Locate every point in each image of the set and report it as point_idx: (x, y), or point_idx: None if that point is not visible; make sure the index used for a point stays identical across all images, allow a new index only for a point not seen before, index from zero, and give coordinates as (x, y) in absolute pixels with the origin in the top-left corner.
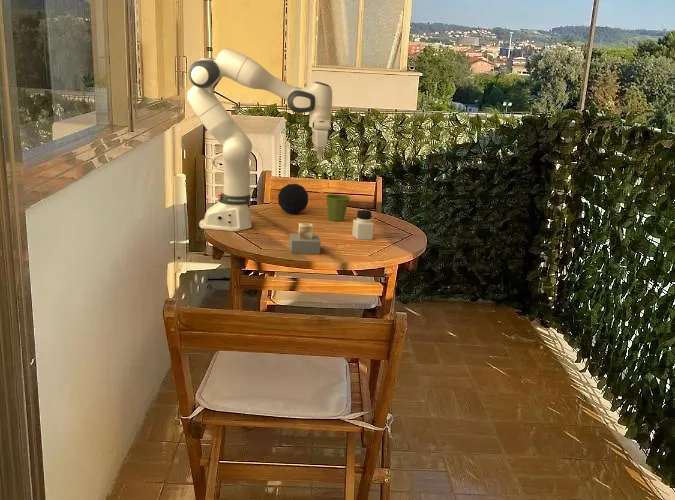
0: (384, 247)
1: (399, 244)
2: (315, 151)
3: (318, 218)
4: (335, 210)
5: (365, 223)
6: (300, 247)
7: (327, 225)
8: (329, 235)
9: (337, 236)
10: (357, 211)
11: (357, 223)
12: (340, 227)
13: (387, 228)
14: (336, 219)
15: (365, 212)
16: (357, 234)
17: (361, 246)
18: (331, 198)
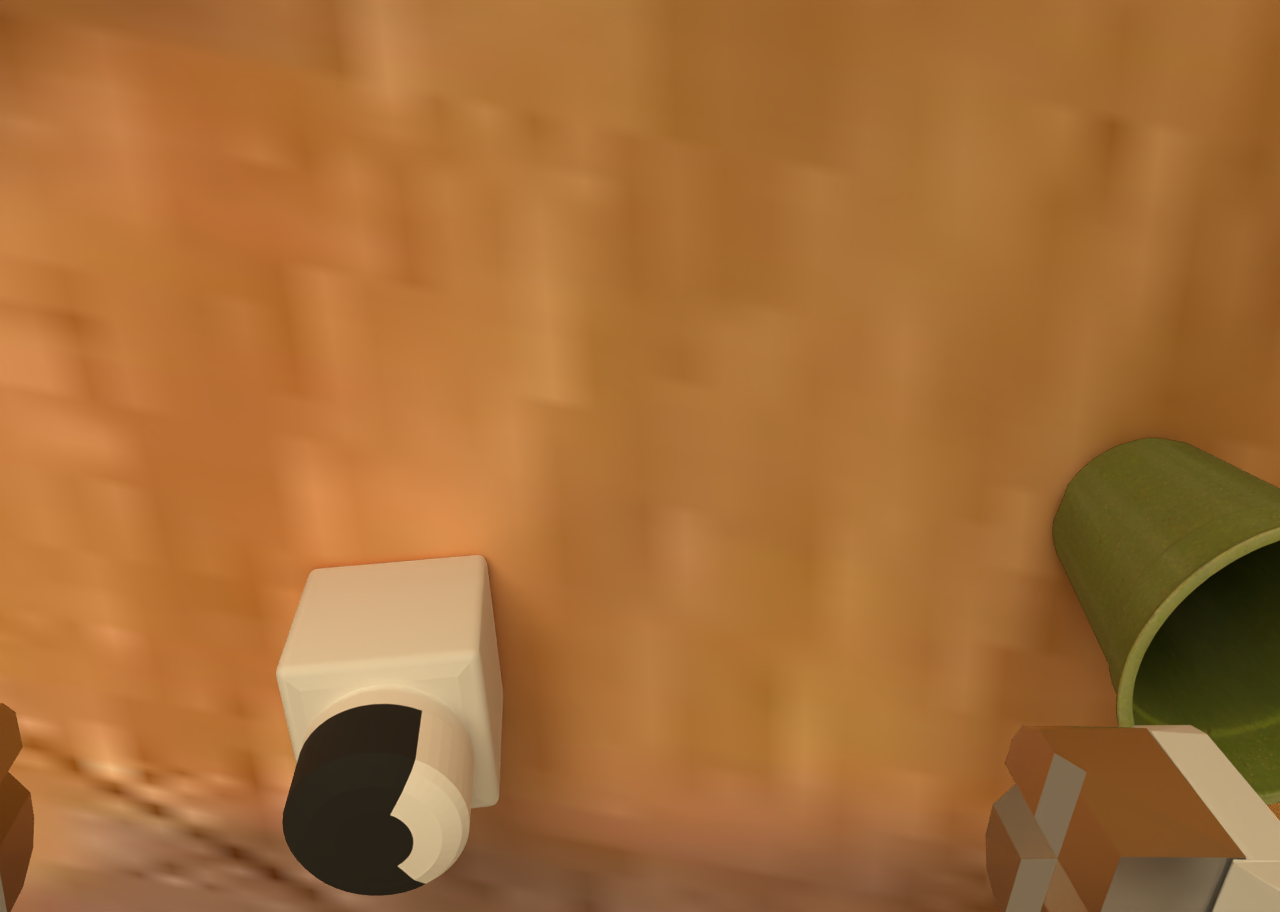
0: (71, 754)
1: (210, 887)
2: (1100, 866)
3: (1230, 329)
4: (1108, 546)
5: (299, 745)
6: None
7: (904, 374)
8: (460, 313)
9: (426, 394)
10: (396, 755)
11: (308, 665)
12: (812, 498)
13: (766, 900)
14: (1063, 512)
15: (297, 833)
16: (301, 598)
17: (55, 561)
18: (1198, 570)
